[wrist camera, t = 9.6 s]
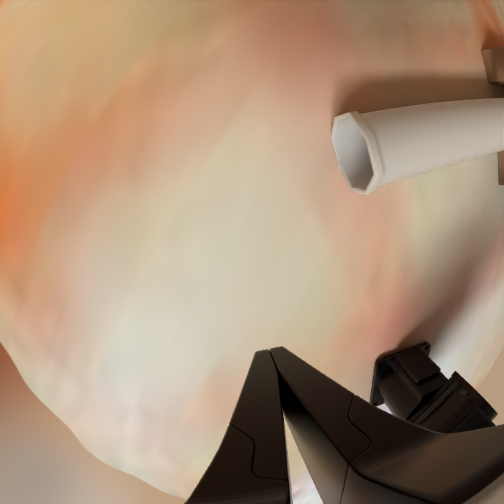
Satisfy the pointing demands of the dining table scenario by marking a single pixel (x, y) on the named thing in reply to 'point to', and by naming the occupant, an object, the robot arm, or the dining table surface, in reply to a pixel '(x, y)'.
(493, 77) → the socket
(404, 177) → the tube
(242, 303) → the dining table surface
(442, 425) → the robot arm
